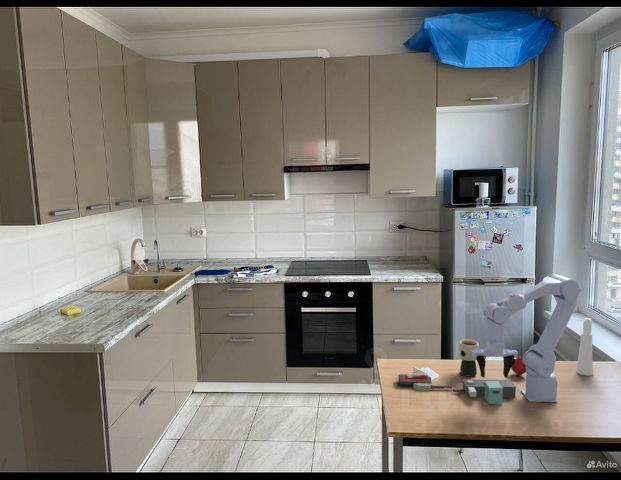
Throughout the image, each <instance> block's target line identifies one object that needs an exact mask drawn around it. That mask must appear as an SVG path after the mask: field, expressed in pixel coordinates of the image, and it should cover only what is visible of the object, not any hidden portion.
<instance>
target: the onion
mask: <svg viewBox="0 0 621 480" xmlns="http://www.w3.org/2000/svg"><path fill="white" fill-rule="evenodd" d="M514 359H515V363H514V364H513V365H512V367H511V370H512V372H513V373H515V375H516V376H520V377H521V376H522V375H524V374H526V365H524V363H523V360H522V359H523V357H521V356H520V355H518V356H517V358H514Z"/></svg>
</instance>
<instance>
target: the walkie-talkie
mask: <svg viewBox="0 0 621 480" xmlns="http://www.w3.org/2000/svg"><path fill="white" fill-rule="evenodd" d="M396 386H397V387H399V388H403V389H407V388H408V389H414V390H417V391H427V392H429V391H431V390H434V389H435V390H436V389H441V390H443V389H452V388H453V386H452V385H433V384H432V377H431V376H430V375H429V374H427V373H425V372H414V373H412V374H409V373H406V374H398V382H397V383H396Z"/></svg>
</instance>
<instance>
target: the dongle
mask: <svg viewBox="0 0 621 480" xmlns="http://www.w3.org/2000/svg"><path fill="white" fill-rule="evenodd" d="M468 393H469V395H470V397H469V398H477V397H476V390H475V388H474V387H468Z"/></svg>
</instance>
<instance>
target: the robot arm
mask: <svg viewBox="0 0 621 480" xmlns="http://www.w3.org/2000/svg"><path fill="white" fill-rule="evenodd" d="M581 291H582V289H581V287H580V284H579V283H578V281H577V280H575V279H573V278H569V277H566V276H563V275H560V274H558V273H551V274H549V275H548V276H545V277H543V279H542V281H540V282H539V283H537V284H535V285H534V286H532V287H531V288H529V289H527V290H526V291H524V292H523V293H521V294H520V293H516V292H515V293H512V292H511V293H509V296H507V297H505V298H504V299H501V300H498V301H497V303H495V302H494V303H493V302H491V303H489V304H487V306H486V307H485V309H484V310H483V315H484V317H485V319H486V335H485V336H486V339H485V340H486V341H485V342H486V344H485V348H479V350H473V351H472V355H473V357H476V360H475V361H476V363H477V364H478V366H479V367H478V368H479V372H480V376H481V378H484V379H485V376H486V374H485V373H486V369H485V368H486V363H487V361H486V359H485V357H487V358H489V357H490V358H491V357H493V358H495V357H498V358H503V359H502V360H503V370H502V373H503V377H504V378H508V376H509V373H510V370H512V368H511V367H512V365H513V364H514V363H515V359H516V358H518V356H519V355H518V353H519V352H518V351H517V349H508V348H505V334H506V333H505V332H506V331H505V330H506V323H507V322H508V321H509V318H511V317H512V316H514V314H516V313H519V312H520V311H522V310H524V309H526V307H527V305H528V303H531V302H532V301H535V300H536V299H539V298H541V297H543V296H545V295H551V296H553V297H554V299H555V301H556V305H555V307H554V309H553V311H552V313H551V315H550V317H549V319H548V321H547V323H546V325H545V327H544V330H543V331H542V334H541V336H540V337H539V339H538V340H537V341H538V342H537V343H535V344H531V345H530V346H529V348H528V350H527V351H525V352H524V353H523V356H522V360H523V363H524V365H526V372H525V374H526V375H525V389H521V390H520V392H521V393H522V394H523V395H524V397H525V398H526V399H527V400H528V402H529V403H530V402H536V403H537V402H538V403H540V402H541V403H542V402H543V403H557V402H558V400H557V394H558V380H557V376H556V374H555V373H554V371H555V364H556V362H557V357H556V354H555V349H556V347H557V345H558V344H559V341H560V339H561V338H562V335H563V334H564V331H565V330H566V328H567V325H568V324H569V321H570V320H571V317H572V315H573V313H574V311H575V309H576V307H577V303H578V297H579V295H580V293H581Z"/></svg>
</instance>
